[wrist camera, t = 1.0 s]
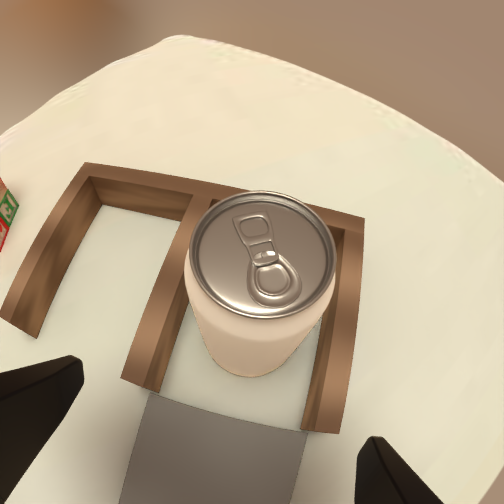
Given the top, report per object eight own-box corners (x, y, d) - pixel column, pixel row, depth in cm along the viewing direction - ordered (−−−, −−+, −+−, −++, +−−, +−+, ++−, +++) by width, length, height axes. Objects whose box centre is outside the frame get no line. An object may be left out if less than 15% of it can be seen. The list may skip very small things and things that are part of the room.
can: (218, 388, 20) (198, 353, 10) (195, 304, 23) (165, 199, 13) (306, 362, 21) (374, 300, 11) (277, 283, 24) (308, 172, 14)
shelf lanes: (321, 432, 19) (338, 434, 15) (25, 332, 20) (-2, 315, 17) (349, 245, 26) (364, 218, 23) (97, 190, 28) (85, 162, 25)
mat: (273, 548, 14) (273, 550, 13) (119, 507, 15) (117, 508, 14) (306, 432, 18) (307, 433, 18) (151, 393, 19) (149, 392, 19)
